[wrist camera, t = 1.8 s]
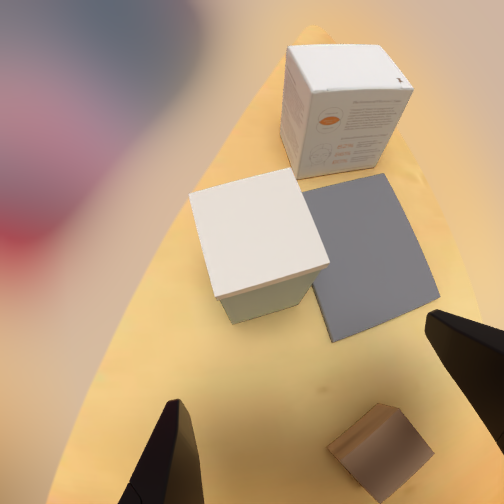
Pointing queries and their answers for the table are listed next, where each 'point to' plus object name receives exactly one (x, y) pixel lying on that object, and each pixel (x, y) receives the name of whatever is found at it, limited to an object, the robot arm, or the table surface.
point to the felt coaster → (366, 256)
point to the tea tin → (258, 243)
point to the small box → (339, 106)
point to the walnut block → (381, 450)
